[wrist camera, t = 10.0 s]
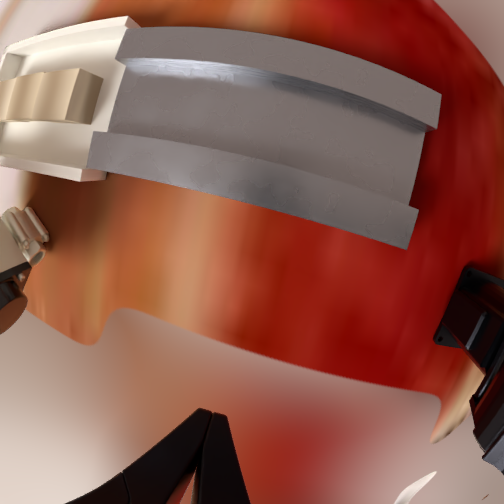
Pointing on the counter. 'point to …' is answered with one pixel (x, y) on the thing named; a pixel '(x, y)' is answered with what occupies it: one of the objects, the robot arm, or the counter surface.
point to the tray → (63, 134)
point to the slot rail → (270, 126)
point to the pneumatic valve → (18, 260)
